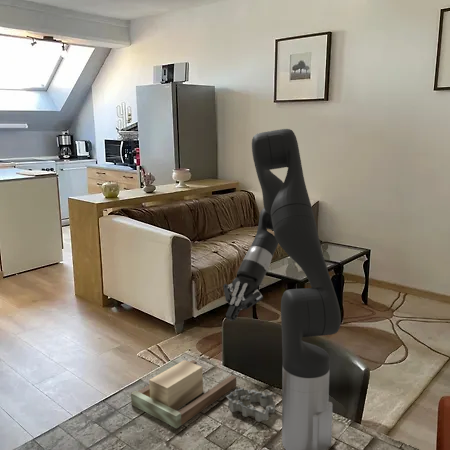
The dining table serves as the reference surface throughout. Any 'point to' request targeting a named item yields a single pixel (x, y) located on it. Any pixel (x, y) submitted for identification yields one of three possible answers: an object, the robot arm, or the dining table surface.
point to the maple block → (177, 385)
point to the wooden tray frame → (180, 417)
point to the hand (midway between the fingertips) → (229, 319)
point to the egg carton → (252, 396)
